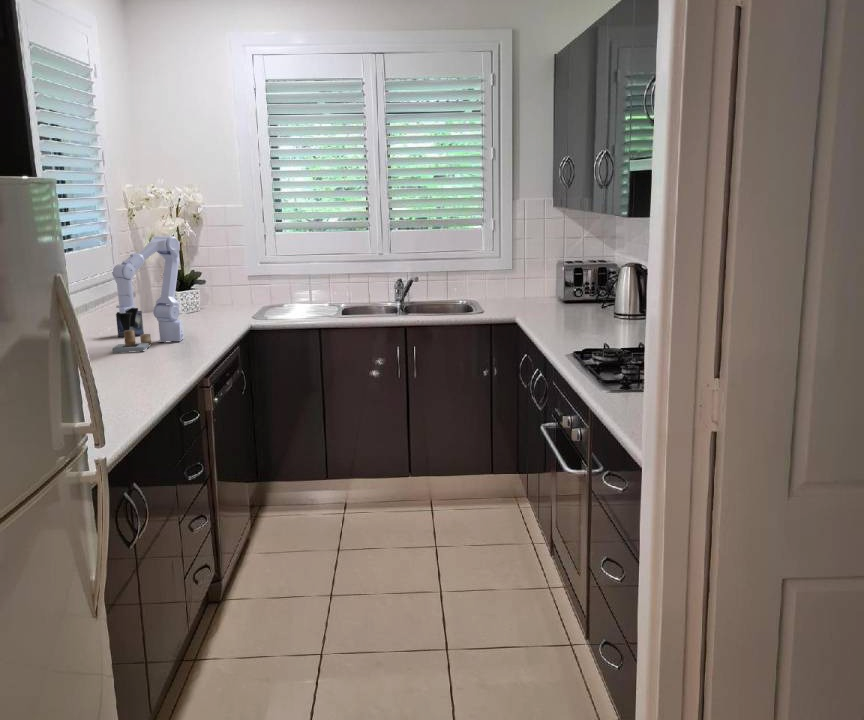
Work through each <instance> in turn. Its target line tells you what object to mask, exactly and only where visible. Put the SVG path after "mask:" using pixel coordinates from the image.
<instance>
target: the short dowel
mask: <svg viewBox="0 0 864 720" xmlns="http://www.w3.org/2000/svg"><path fill="white" fill-rule="evenodd" d="M139 337H140V343H149V345H150V344H151V345H152V339H151V338H152V337H151V334H150V333H144V334H142V335H140V336H139Z"/></svg>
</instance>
